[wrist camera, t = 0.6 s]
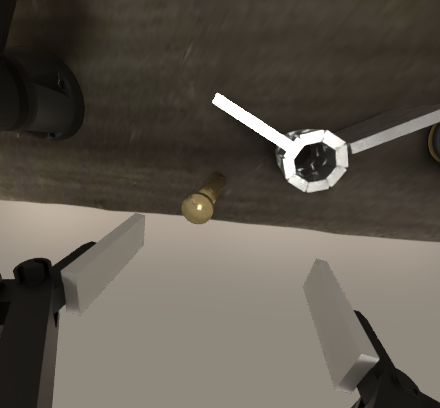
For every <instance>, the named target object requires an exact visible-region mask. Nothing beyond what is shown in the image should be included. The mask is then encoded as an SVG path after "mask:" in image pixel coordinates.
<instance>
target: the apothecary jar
mask: <svg viewBox="0 0 440 408" xmlns="http://www.w3.org/2000/svg"><path fill="white" fill-rule="evenodd" d="M428 147H429V151H430V153H431V155H432V156H433V157H434V158H435V159H436V160H437V161H438V162H440V122H438V123H435V124H434V125H433V126H432V128H431V131H430V134H429V138H428Z"/></svg>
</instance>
